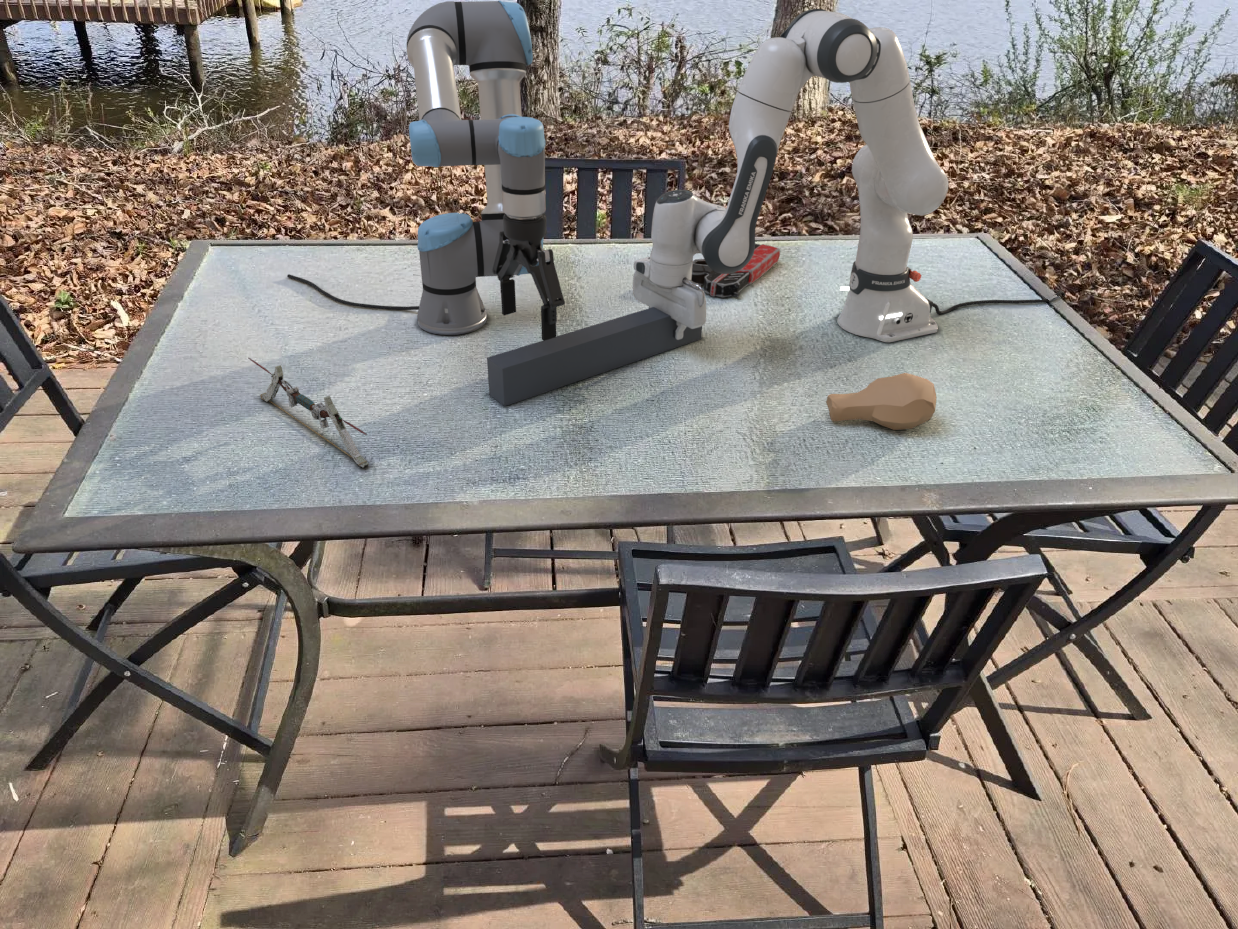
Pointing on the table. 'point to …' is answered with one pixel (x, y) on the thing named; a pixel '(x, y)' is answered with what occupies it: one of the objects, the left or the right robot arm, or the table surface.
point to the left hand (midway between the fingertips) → (528, 325)
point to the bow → (313, 411)
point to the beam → (582, 354)
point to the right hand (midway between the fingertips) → (666, 332)
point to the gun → (735, 273)
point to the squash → (888, 402)
